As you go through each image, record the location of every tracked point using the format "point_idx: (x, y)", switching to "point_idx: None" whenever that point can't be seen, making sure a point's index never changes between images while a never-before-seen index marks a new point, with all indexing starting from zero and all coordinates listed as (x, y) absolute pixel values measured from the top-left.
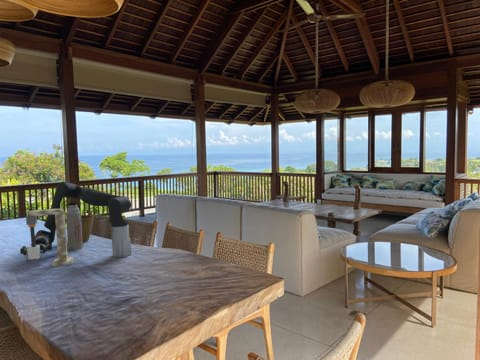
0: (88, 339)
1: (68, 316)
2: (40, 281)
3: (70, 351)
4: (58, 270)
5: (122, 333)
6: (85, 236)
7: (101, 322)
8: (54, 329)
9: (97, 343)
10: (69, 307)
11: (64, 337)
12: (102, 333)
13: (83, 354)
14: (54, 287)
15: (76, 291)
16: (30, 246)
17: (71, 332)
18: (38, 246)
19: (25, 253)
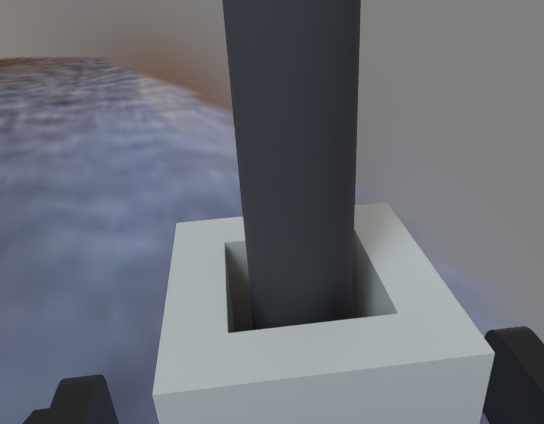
0: (64, 66)
1: (81, 88)
2: (162, 206)
3: (96, 59)
4: (17, 333)
5: (7, 70)
6: None
7: (24, 80)
8: (115, 74)
9: (54, 63)
10: (70, 101)
11: (100, 68)
12: (37, 70)
13: (80, 58)
14: (94, 162)
15: (20, 139)
16: (394, 280)
17: (86, 71)
18: (172, 262)
19: (488, 385)
